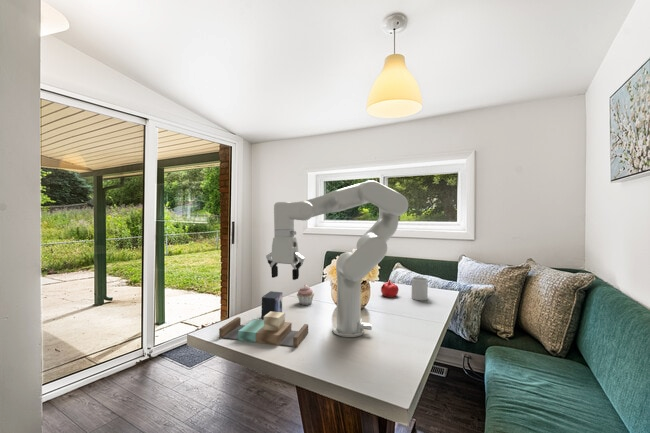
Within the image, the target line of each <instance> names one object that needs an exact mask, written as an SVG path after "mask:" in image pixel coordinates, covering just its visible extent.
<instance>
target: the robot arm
mask: <svg viewBox="0 0 650 433" xmlns="http://www.w3.org/2000/svg"><path fill="white" fill-rule="evenodd" d="M366 204H372V205H374V206H375V207H377V208H378V211H379V212H378V214H379V215H378V218H377V220H376V221H375V223H373V225H372V226H371V227H370V228H369V229H368V230H367V231H366V232H365V233H363V235H362V236H360V238H358V240H357V242H356V249H355V251H354V252H351V251H345V252H343V253H341V254H340V255H338V257H337V260H336V263H335V264H336V265H335V270H336V271H335V272H336V324H335V325H333V327H332V332H333V333H334V334H335V335H337V336H338V337H343V338H356V337H360V336H363V335H364V334H365V330H366V331H372V328H373V326H372V324H370V323H369V322H363V318H361V317H362V316H361V314H362V312H361V310H362V309H361V307H362V306H361V304H362V303H361V302H362V296H361V294H362V283H361V282H362V281H361V280H362V279H364V278H365V277H366V276H368V275H369V273H370V272H372V271H373V269H374V268H376V266H378V264H380V262H382V260H383V259H384V258H385V256H386V254H387V252H388V244H387V242H389V240H390V239H391V238H392V236H393V235H394V234H395V233H396V231H397V229H398V226H399V217H401V216H403V215H404V214H405V213H406V212H407V211H408V209H409V201H408V199H407V198H406V196H405V195H403V194H401V193H400V192H399V191H397V190H394V189H393V188H390V187H388V186H386V185H384V184H382V183H380V182H378V181H376V180H366V181H363V182H360V183H356V184H353V185H348V186H346V187H342V188H339V189H335V190H332V191H328V192H327V193H326V194H323V195H320V196H316V197H313V198H309V199H306V200H302V201H294V202H293V201H277V202H275V203H274V204H273V221H274V222H273V227H274V228H273V229H274V231H273V232H274V233H273V234H274V235H273V236H274V237H273V238H272V244H271V252H269V253H268V254H266V255H265V258H266V260H267V263H268V264H269V267H270V270H271V278H277V277H278V276H279V267H278V264H283V265H284V264H285V265H291V267H292V270H291V271H292V272H291V273H292V280H293V281H296V280H299V276H300V268H301V267H302V266H303V263H304V261H305V260H306V259H305V257H304V256H303V255H301V254H300V253H299V246H298V241H297V237H295V236H296V235H297V230H295V224H294V223H295V220H296V221H305V222H307V221H309V220H310V219H312V218H314V217H317V216H321V215H326V214H329V213H330V214H331V213H337V212H338V213H339V212H342V211H345V210H346V211H347V210H349V209H353V208H356V207H359V206H363V205H366Z"/></svg>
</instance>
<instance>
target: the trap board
mask: <svg viewBox="0 0 650 433" xmlns="http://www.w3.org/2000/svg"><path fill="white" fill-rule="evenodd" d="M241 323H242V321H241V317H239V316H236V317H235V318H234V319H232V320H231V321H229V322H228V323H225V324H224V325H223V326H221V327H219V329H218V338H219V339H225V340H233V341H242V342H248V343H249V342H250V343H257V344H265V345H275V346H283V347H290V348H298V347H300V345H301V343H302V342H303V341H304V339H305V338H306V337H307V335H308V334H309V324H306V323H304V324H303V326H301V328H300V329H299V330H292V322H288V321H285V326H284V327H283V328H282V329H281V330H280V331H271V330H264V320H261V319H260V318H259V319H258V318H254V319H253V320H251V321H250V322H248V323H247V324H246V325H245V324H241Z"/></svg>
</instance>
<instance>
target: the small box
mask: <svg viewBox="0 0 650 433" xmlns="http://www.w3.org/2000/svg"><path fill="white" fill-rule="evenodd" d="M270 311H272V312H283V292H282V291H281V292H280V291H272V290H270V291H269V292H267V293H265V295H264V294H263V296H261V316H260V317H261V319H260V320H264V316H265V315H266V314H268V313H269V312H270Z"/></svg>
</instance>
